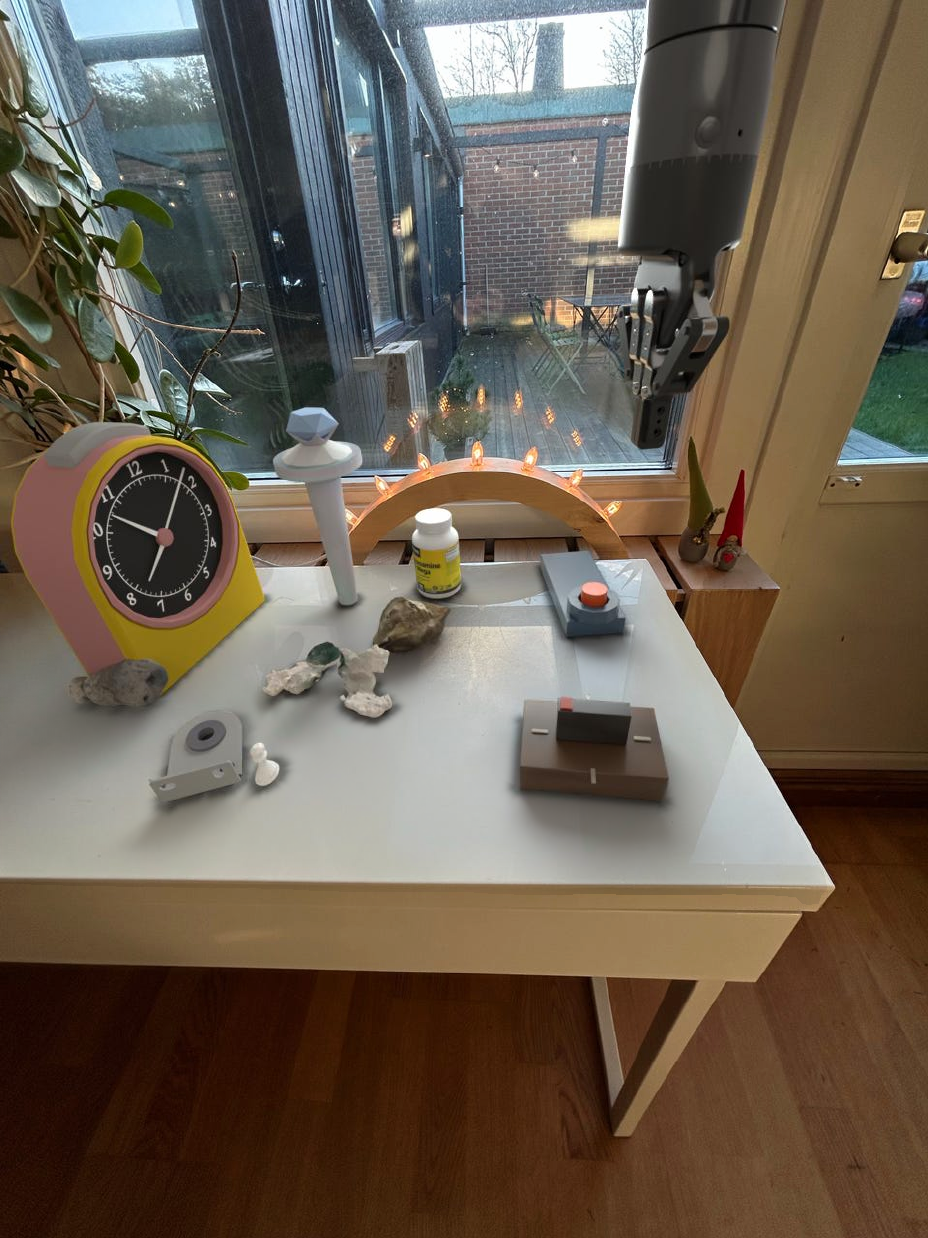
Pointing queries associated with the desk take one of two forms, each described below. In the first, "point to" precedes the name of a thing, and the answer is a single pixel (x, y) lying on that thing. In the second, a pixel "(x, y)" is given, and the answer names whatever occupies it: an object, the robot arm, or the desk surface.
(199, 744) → the bracket
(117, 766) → the desk surface
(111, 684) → the stone
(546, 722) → the panel
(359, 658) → the rock
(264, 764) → the chess pawn
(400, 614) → the fossilized seashell
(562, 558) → the button box
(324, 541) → the novelty light stick
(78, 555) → the alarm clock
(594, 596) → the button
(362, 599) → the desk surface
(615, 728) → the red-tipped grey bar
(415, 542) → the pill bottle
